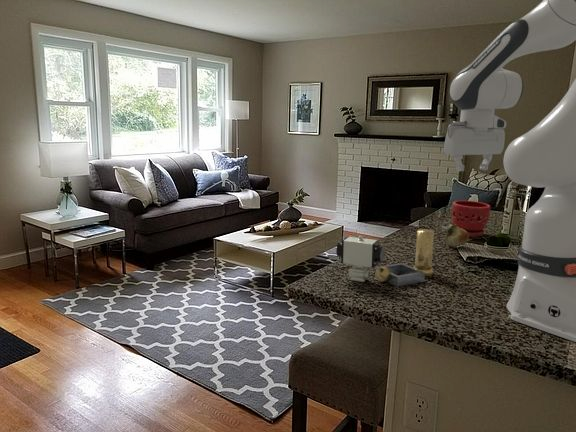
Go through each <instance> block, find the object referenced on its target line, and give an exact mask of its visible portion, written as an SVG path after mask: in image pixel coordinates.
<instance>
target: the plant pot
mask: <svg viewBox="0 0 576 432" xmlns="http://www.w3.org/2000/svg"><path fill="white" fill-rule="evenodd" d="M490 212H491V205H490V204H488V203H485V202H481V201H474V200H455V201H453V202H452V207H451V220H452V223H454V224H456V226H457V227H459V228H462V229H464V230H465V231H467V232H468V234H469V238H470V237H471V238H476V237H481V236H483V235H484V234H485V230H484V228H485V227H486V225H487V224H488V221H489V217H490V214H491V213H490Z"/></svg>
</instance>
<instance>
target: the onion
mask: <svg viewBox="0 0 576 432" xmlns="http://www.w3.org/2000/svg"><path fill="white" fill-rule="evenodd" d="M441 229H442V230H443V231H444V232H446V233H445V236H444V240H445V244H446V245H448V247H451V248H454V249H456V247H457V246H460V245H464V246H465V245H467V243H468V241H469V239H470V237H469V234H468V232H467V231H465V230H464V229H462V228H459V227H457V226H456V224H454V223H453V222H452V223H449V225H448V226H443V225H442V226H441Z"/></svg>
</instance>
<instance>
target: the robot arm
mask: <svg viewBox="0 0 576 432" xmlns="http://www.w3.org/2000/svg"><path fill="white" fill-rule="evenodd" d="M574 42H576V0H542V1H541V2H540V3H538V5H536V7H534V8H532V10H531V11H529V12H528V13H527V14H525V15H524V16H523V17H521V18H519V19H518V20H515V21H514V22H512V23H511V24H509V25H508V26H507V27H505V29H503V31H501V32H500V33H499V34H498V35H497V36H496V37H495V38H494V39H493V41H491V42H490V44H488V46H487V47H486V48H485V49H483V51H482V52H480V54H479V55H478V56H477V57H476V58H475V59H474V60H473V61H472V62H471V63H470V64H469V65H467V66H466V67H464V68H462V69H461V70H460V71H459V72H458V73H457V74H456V75H455V76H454V77H453V79H452V80H451V82H450V84H449V88H448V89H449V91H448V93H449V94H448V95H449V98H450V100H451V101H452V103H453V104H454V106H455V107H457V109H458V110H460V117H459V121H452V123H450V124H449V125H448V127H447V132H446V135H445V140H444V145H443V153H444V155H447V156H453V160H454V164H455V171H456V172H464V171H465V167H466V166H465V165H464V164H463V160H464V159H463V158H464V156H472V155H473V156H475V155H478V156H479V155H480V156H481V155H482V158H483V160H482V162H481V163H479V170H480V171H488V170H489V164H490V162H492V159H493V155H501V154H502V152H503V151H504V148H505V140H506V138H505V137H506V132H505V130H504V129H506V127H507V121H506V120H504V119H503V118H501V117H499V116H498V115H495V111H496V110H501V109H502V110H505V109H511V108H513V107H515V106H517V104H518V103H519V102H520V101H521V100H522V98H523V95H524V92H525V81H524V79H523V78H522V75H521V74H520V73H518V72H515V71H512V70H508V69H505V68H503V67H505V66H506V65H507V64H508V63H509V62H511V61H512V60H515V59H517V58H519V57H522V56H526V55H530V54H533V53H540V52H547V51H552V50H558V49H563V48H565V47H567V46H569V45H571V44H572V43H574ZM502 161H503V169H504V172H505V174H506V175H507V177H508V179H509V180H511V182H513V183H516V184H518V185H522V186H526V187H532V188H544V190H543V192H542V194H541V195H540V197H539V199H538V200H537V201H536V202H535V203H534V204H533V205H531V207H530V208H528V209H527V211H526V213H525V217H524V226H523V235H522V242H521V246H519V249H518V255H517V266H518V267H517V268H518V269H517V275H516V278H515V284H514V286H513V290H512V291H511V295H510V297H509V300H508V302H507V304H506V309H507V310H508V311H509V313H510V316H509V317H510V319H511V320H512V321H514V322H517V323H520V324H523V325H525V326H528V327H532V328H535V329H538V330H540V331H543V332H546V333H549V334H551V335H555V336H557V337H560V338H563V339H566V340H569V341H571V342H574V343H576V78H575V79H574V81H573V82H572V84H571V86H570V87H569V89H568V90H567V92H566V93H565V94H564V95H563V97H562V99H561V100H560V101H559V102H558V103H557V104H556V106H555V107H553V109H552V110H551V111H550V112H549V113H548V114H546V116H544V118H543V119H541V120H540V121H539V123H537V124H536V125H535V126H534V127H533V128H531V129H530V130H528V131H527V132H526V133H523V134H522V135H520V136H519V137H516V138H515V139H514V140H512V141H511V142H510V143H509V144H508V146H507V148H506V149H505V151H504V155H503V160H502Z"/></svg>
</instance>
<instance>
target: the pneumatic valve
mask: <svg viewBox="0 0 576 432" xmlns="http://www.w3.org/2000/svg"><path fill="white" fill-rule="evenodd" d="M336 245H337V246H336V250H335V251H336V255H337V256H336V257H338V258H340V264H344V265H352V267H351V268H349V270H348V277H349V279H350V280H351V282H352V281H353V282H358V283H364V282H366V280H367V281H368V280H370V278H371V271H370V270H369V268H373V269H374V268H376V267H377V266H378V264H382V263H383V262H384V258H385V251H386V249H385V246H383V245H382V244H381V241H380V239H371V238H364V237H363V235H359V236H358V237H354V236H346V237H344V238H343V239H342V240H339V241H338V243H337V244H336Z"/></svg>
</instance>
